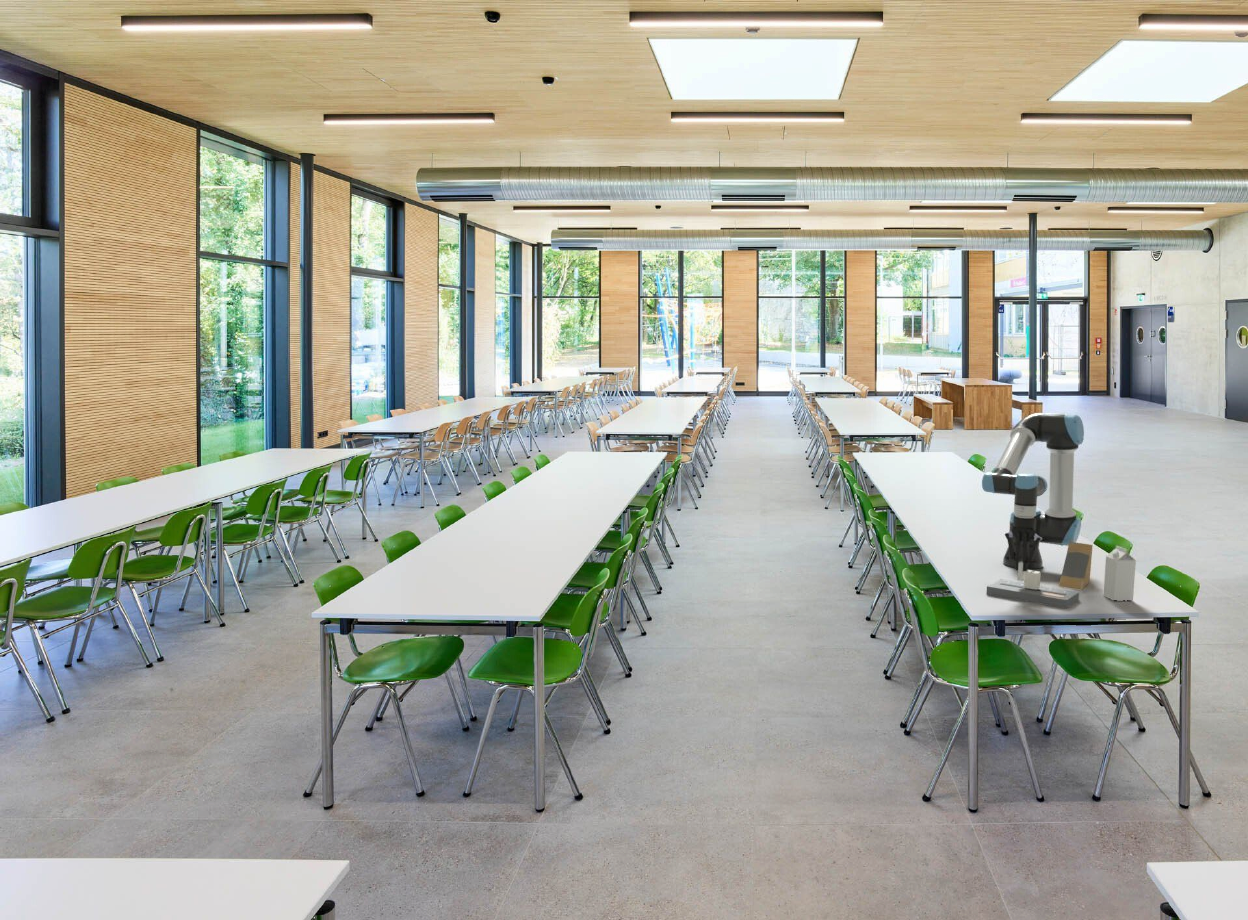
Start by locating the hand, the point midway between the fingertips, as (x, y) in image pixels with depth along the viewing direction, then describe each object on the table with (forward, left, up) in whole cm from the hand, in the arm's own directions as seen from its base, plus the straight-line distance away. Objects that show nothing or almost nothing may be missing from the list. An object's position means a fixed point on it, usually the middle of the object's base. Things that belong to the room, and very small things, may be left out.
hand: (1021, 579), depth 346 cm
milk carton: (-19, +28, -6) cm, 35 cm away
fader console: (0, +4, -6) cm, 7 cm away
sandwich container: (-30, +10, -6) cm, 33 cm away
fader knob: (0, +4, -3) cm, 5 cm away
